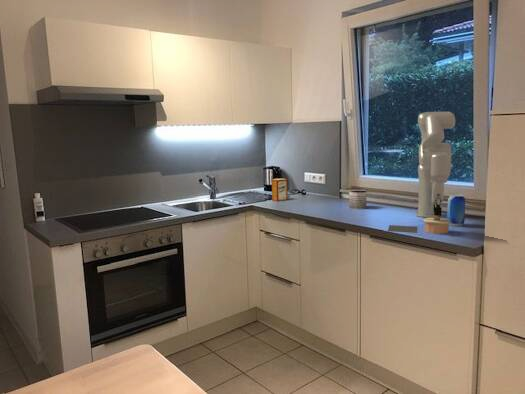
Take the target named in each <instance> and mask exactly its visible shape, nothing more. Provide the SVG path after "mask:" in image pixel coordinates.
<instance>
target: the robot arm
mask: <svg viewBox="0 0 525 394" xmlns="http://www.w3.org/2000/svg"><path fill="white" fill-rule="evenodd" d="M417 124H418V128H419V130H420V133H421V134H420V135H421V143H420V145H419V147H418V163H419V164H418V166H417V173H418V202H417V203H418V204H417V205H418V206H417V207H418V208H417V212H415V213H414V214H415V216H416V217H419V218H434V215H436V216H440V217H442V211H443V210H442V203H443V202H444V195H445V183H448V178H449V177H450V175H451V171H452V147H451V145H450V143H448V142H443V141H444V140H445V132H444V130H448V129H449V130H451V129H453V128H454V127H455V126H456V117H455V114H454V113H453V112H451V111H426V112H425V111H424V112H422V113H419V114H418V116H417Z"/></svg>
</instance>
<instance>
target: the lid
mask: <svg viewBox="0 0 525 394" xmlns="http://www.w3.org/2000/svg"><path fill="white" fill-rule="evenodd" d="M423 222H424V223H425V222H426V223H430V224H449V223H450V222H451V221H450V220H449V219H447V218H443V217H441V216H436V215H434V217H424V218H423Z"/></svg>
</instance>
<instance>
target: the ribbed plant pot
mask: <svg viewBox="0 0 525 394" xmlns="http://www.w3.org/2000/svg"><path fill="white" fill-rule="evenodd" d="M367 191H368V190H366V189H351V190H349V192H348V193H349V195H348V198H349V199H348V203H349V204H348V205H349V206H348V209H350V210H364V209H367V196H368V195H367Z"/></svg>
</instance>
